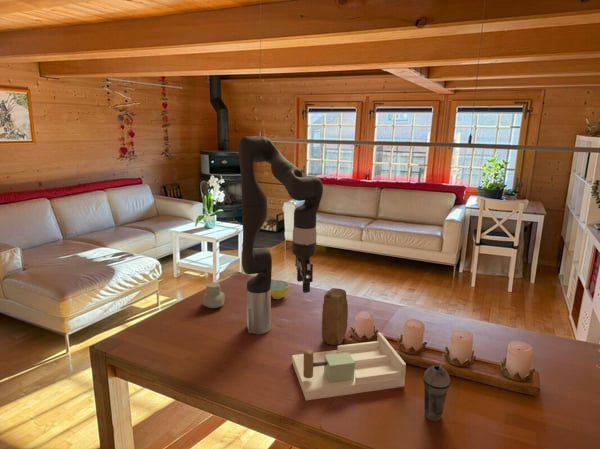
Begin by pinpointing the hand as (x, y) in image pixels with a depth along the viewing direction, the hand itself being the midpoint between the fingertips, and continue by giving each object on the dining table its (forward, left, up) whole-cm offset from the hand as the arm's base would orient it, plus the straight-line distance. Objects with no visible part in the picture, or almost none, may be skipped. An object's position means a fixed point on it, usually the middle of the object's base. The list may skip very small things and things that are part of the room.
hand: (303, 286), depth 137 cm
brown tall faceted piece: (+16, +13, -29) cm, 35 cm away
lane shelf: (+13, -9, -29) cm, 32 cm away
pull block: (+5, -14, -25) cm, 29 cm away
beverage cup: (+31, -33, -29) cm, 53 cm away
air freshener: (-28, +52, -29) cm, 66 cm away
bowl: (+1, +55, -29) cm, 62 cm away
